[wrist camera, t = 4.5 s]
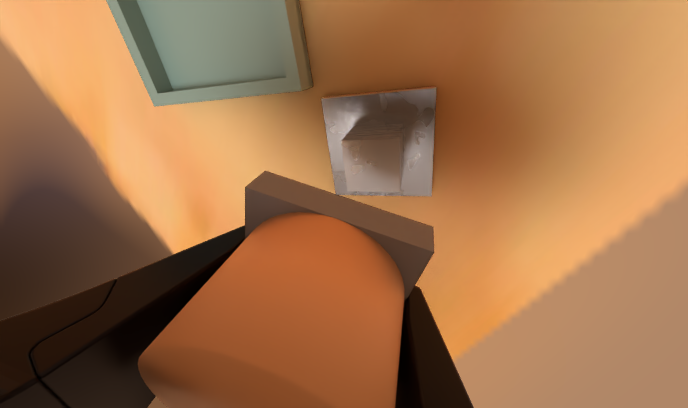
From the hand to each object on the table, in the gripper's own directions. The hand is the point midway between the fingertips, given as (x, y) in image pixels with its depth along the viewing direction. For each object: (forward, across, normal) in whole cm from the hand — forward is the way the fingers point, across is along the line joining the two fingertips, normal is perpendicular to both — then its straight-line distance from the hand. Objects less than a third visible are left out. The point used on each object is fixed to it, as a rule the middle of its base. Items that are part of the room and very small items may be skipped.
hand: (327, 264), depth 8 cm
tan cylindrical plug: (0, 0, 0) cm, 0 cm away
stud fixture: (+12, 0, 0) cm, 12 cm away
